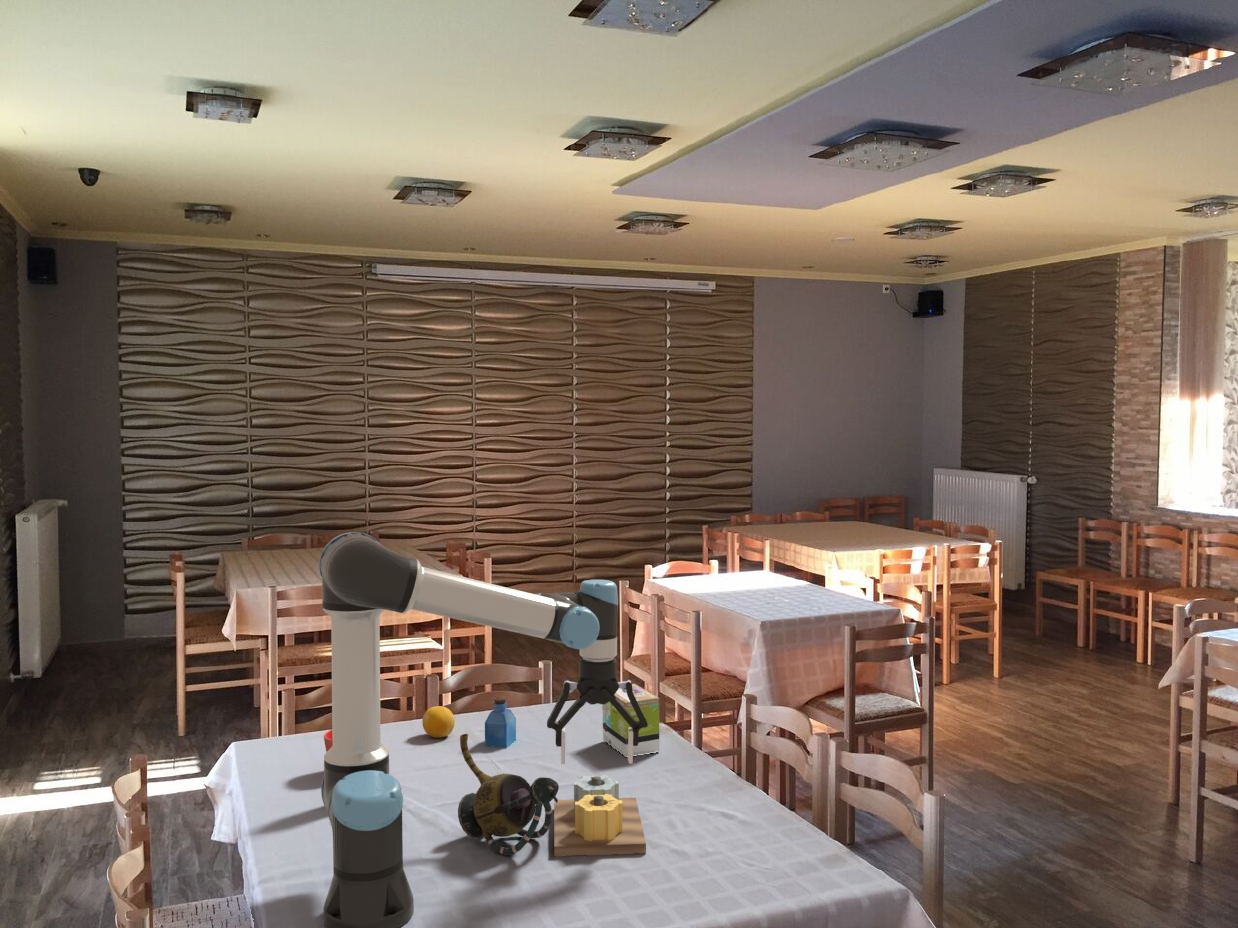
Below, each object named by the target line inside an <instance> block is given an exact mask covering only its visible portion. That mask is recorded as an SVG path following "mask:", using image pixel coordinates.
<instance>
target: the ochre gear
mask: <svg viewBox="0 0 1238 928" xmlns="http://www.w3.org/2000/svg"><path fill="white" fill-rule="evenodd" d="M595 796H603V797H604V805H603V806H594V797H595ZM621 832H622V800H617V799H616V798H614V797H613V795H609V794H605V795H590V794H589V795H585V796H583V798H582V799H581V800H579V802H575V834H579V835H581V836H582V837H584V840H588V841H592V840H606V839H607V840H608V841H609V840H612V839H615V836H616V835H617V834H618V833H621Z"/></svg>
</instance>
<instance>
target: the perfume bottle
mask: <svg viewBox="0 0 1238 928" xmlns="http://www.w3.org/2000/svg"><path fill="white" fill-rule="evenodd" d="M493 701H494V702H493V708H494V709H493V710H492V711H490V712H489V714H488V715H487V718H486V720H485V721H484V747H491V748H492V747H494V748H502V749H504V748H505V749H507V748H510V746H511V745H513V744H514V743H515V742H516V741H517V718H516V716H515V715H514V712H513V711H512V710H511V709H510V708H509V709H508V708H507V707H508V702H507V697H506V696H497V697H494V698H493ZM514 741H515V742H514ZM512 743H513V744H512Z"/></svg>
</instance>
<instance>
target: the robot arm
mask: <svg viewBox="0 0 1238 928" xmlns="http://www.w3.org/2000/svg"><path fill="white" fill-rule="evenodd" d="M318 561H319V562H318V570H319V574H320V575H319V576H320V577H321V580H322V581H321V589H322V590H321V593H322V594H321V596H322V597H321V599H322V601H321V602H322V611H324V612H325V613H326V614H327V615H328V616H329V617H330V621H331V622H330V623H331V625H330V626H331V628H330V629H331V630H330V631H331V632H330V633H331V707H332V708H331V712H332V713H331V715H332V716H331V717H332V718H331V721H332V722H331V725H332V726H331V727H332V729H331V730H332V740H333V746H332V747H331V748H330V749H329V750H328V751H327V752H326V751H325V754H324V755H323V756H324V757H323V777H322V783H321V789H320V791H321V792H320V793H321V799H322V803H323V806H324V807H325V810H326V813H327V815H328V819H329V823H330V826H331V829H332V830H331V831H332V860H333V861H332V863H333V867H332V869H333V875H332V876H333V877H332V880H331V882H330V886H329V889H328V892H327V895H326V898H325V901H324V904H323V905H324V906H323V925H324V927H325V928H400V927H402V926H403V925H405V924H406V923H407V922H409V921H410V920H411V919H412V916H413V915H414V912H415V911H414V910H415V908H414V907H415V905H414V904H415V903H414V902H415V901H414V895H413V891H412V889H411V886H410V883H409V881H408V878H407V875H406V872H405V870H404V860H403V859H404V856H403V855H404V852H403V851H404V850H403V849H404V848H403V806H404V795H403V791H402V786H401V783H400V781H399V780H398V779H397V778H396V777H395V776H394V775H392V774H391V773H390V750H389V749H388V748H387V746H385V745H384V744H383V743H382V742H381V653H380V652H381V651H380V650H381V649H380V648H381V647H380V646H381V644H380V643H381V637H380V636H381V634H380V633H381V632H380V631H381V630H380V627H381V626H380V625H381V624H380V620H381V619H380V616H381V614H382V613H383V612H384V611H388V612H396V613H399V614H405V613H407V612H409V611H411V610H414V611H417V612H423V613H427V614H431V615H436V616H439V617H446V618H450V619H454V620H458V621H463V622H468V623H472V624H477V625H481V626H486V627H491V628H493V629H494V628H495V629H498V630H503V631H508V632H512V633H518V634H522V635H526V636H530V637H535V638H540V639H544V640H548V641H551V642H555V643H560V644H564V645H565V646H566V647H568V648H570V649H575V650H579V656H580V657H581V658H580V659H579V660H578V661H579V663H578V664H579V665H578V669H579V670H578V671H579V672H578V673H579V674H578V675H579V677H578V681H577V682H575V681H570V680H569V679H565V680H564V681H563V687H562V691H561V693H560V695H559V697H558V699H557V701H556V702H555V704H554V706H553V709H552V710H551V712H550V715H549V716H548V718H547V720H546V727H547V728H548V729H552V730H554V732H555V746H556V747H559V748H560V749H561V751H560V760H561V761H560V763H561V765H566V726H567V725H568V724H569V722H570V720H572V719H573V718H574V716H575V715H576V714H577V713H578V712H579V711H580V710H581V708H583V707H584V705H586V704H587V703H588V704H589V705H597V704H599V705H603V704H606V703H608V702H610V703H611V704H612V705H613V706H614V707H615V708H616V710H617V711H618V712H619V713H620V714H621V716H622V717H623V718H624V719H625V720H626V721H627V723H628V724H629V725H630V726H631V727H632V728H628V758H627V761H628V764H631V765H632V764H633V763H634V759H633V758H634V757H633V746H638V740H639V730H640V729H641V728H646V727H647V726H648V723H647V720H646V718H645V716H644V714H643V712H642V710H641V708H640V706H639V704H638V702H637V700H636V698H635V696H634V693H633V690H632V684H633V683H632V680H631V679H626V680H625V681H618V679H617V676H618V675H617V674H618V673H617V669H618V668H617V666H618V665H617V664H618V660H617V658H616V656H617V655H618V609H619V607H618V606H619V598H618V597H619V596H618V586H617V584H616V583H615V582H614V581H612V580H609V579H587V580H583V581H581V583H580V588H579V591H573V592H551V593H550V592H547V593H542V592H539V593H531V592H527V591H522V590H518V589H514V588H509V587H505V586H503V585H498V584H493V583H490V582H486V581H482V580H477V579H474V578H470V577H465V576H462V575H458V574H454V573H450V572H447V571H446V572H445V571H441V570H437V569H433V568H429V567H425V566H422V565H421V562H420V561H419V559H417V558H412V557H408V556H405V555H402V554H400V553H397V552H395V551H393V550H391V549H389V548H387V547H386V546H384V545H383V544H381V543H380V542H379V541H378V540H377V539H376V538H375V537H373V536H371V535H369V534H366V533H364V532H355V531H354V532H345V533H342V534H339V535H338V536H335V537H334V538H332V539H330V541H329V542H328V543H327V544H326V545H325V547H324V548H323V550H322V552H321V553H320V557H319V560H318ZM619 688H621V689H622V691H623V692H624V693H627V696H628V698H629V700H630V702H631V704H632V706H633V708H634V710H635V712H636V714H637V717H638V719H639V721H637V722H636V721H635V719H634V718H633V717H632V716H631V715H630V713H629V712H628V711H627V710H626V709H625V707H624V706H623V705H622V704H621V703H620V702H619V700H618V699H617V698H616V696H615V695H614V694H615V693H616V692H617V690H618V689H619ZM575 689H577V691H578V692H579V696H578V697H577V698H576V699H575V701H574V702H573V703H572V705H571V706H570V707H569V708H568V710H566V712H565V713H564V714H563V715H562V716H561V717H560V719H558V717H559V716H560V714H561V711H562V709H563V707H564V705H565V703H566V702H567V701H568V700H567V699H568V698H569V695H570V694H572V693H573V692H574V690H575ZM557 719H558V721H557Z"/></svg>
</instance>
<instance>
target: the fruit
mask: <svg viewBox="0 0 1238 928" xmlns="http://www.w3.org/2000/svg"><path fill="white" fill-rule="evenodd" d="M422 728H423V730H424V732H425V733H426V734H427V735H428V736H429V737H432V738H435V739H440V738H444V737H447V736H449V735H450V734H452V732H453V730H454V728H455V717H454V714H453V712H452V711H451V710H450V709H449V708H448V707H446V706H441V705H436V706H432V707H429V708H428V709H427V710H425V712H424V714H423V716H422Z"/></svg>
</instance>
